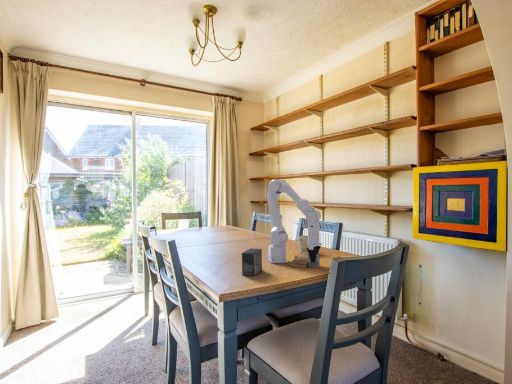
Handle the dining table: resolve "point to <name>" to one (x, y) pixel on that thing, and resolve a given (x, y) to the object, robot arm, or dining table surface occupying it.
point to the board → (300, 263)
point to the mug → (303, 243)
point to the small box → (251, 262)
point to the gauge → (310, 264)
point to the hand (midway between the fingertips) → (313, 261)
